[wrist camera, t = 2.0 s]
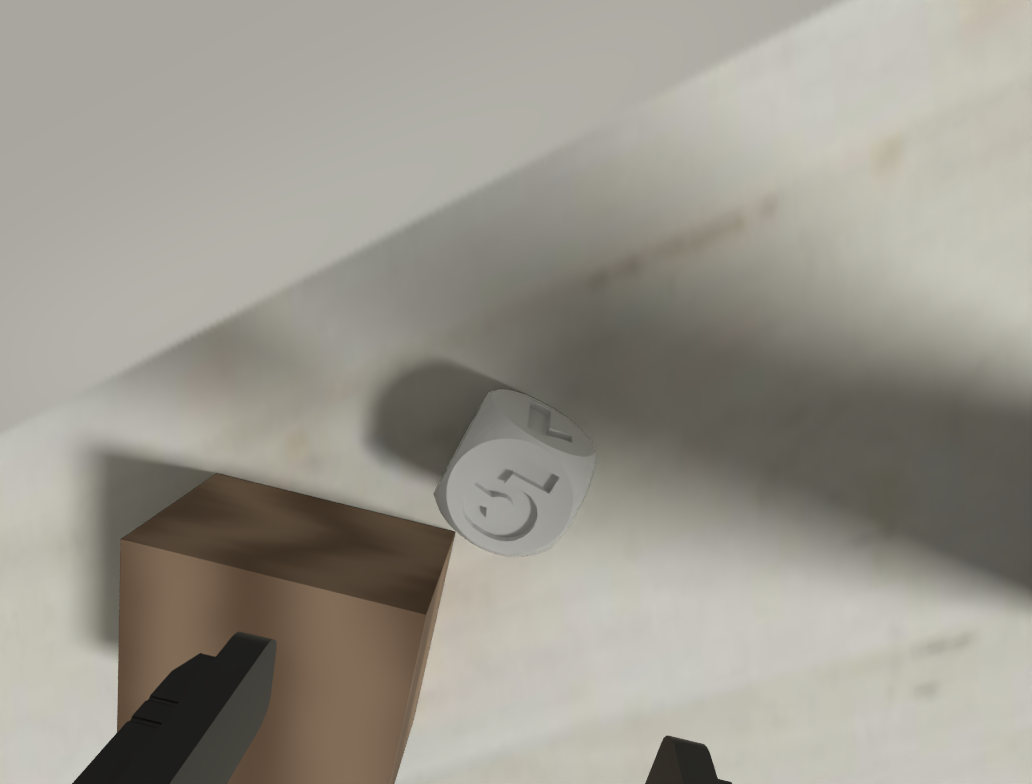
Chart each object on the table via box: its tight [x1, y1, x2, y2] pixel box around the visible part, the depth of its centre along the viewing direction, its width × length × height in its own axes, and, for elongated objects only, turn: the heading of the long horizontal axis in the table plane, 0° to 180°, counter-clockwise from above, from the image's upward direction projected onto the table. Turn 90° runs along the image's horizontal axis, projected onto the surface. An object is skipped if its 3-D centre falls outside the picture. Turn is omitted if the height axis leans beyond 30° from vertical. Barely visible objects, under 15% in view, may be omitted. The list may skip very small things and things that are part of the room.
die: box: [434, 389, 596, 557], centre depth 22 cm, size 5×5×5 cm
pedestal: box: [117, 474, 455, 784], centre depth 25 cm, size 12×12×6 cm
